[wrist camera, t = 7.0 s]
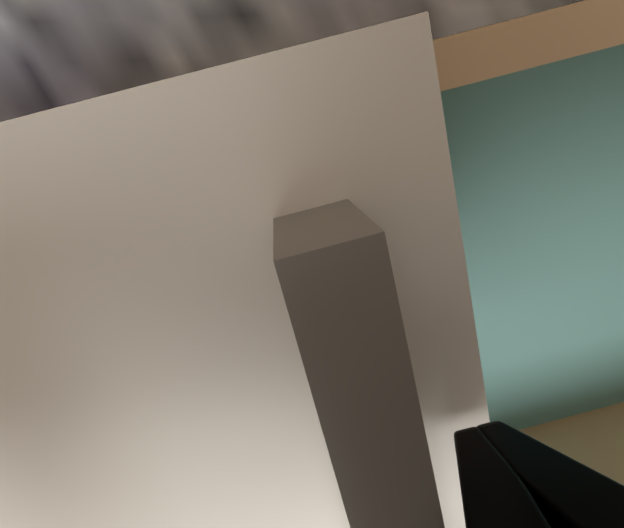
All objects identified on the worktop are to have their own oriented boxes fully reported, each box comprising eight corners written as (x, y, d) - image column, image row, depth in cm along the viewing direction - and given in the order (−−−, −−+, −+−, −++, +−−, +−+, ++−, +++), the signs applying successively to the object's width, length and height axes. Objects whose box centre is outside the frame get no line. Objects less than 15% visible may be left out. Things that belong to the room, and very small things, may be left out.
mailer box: (761, -25, 12) (1085, -131, 7) (740, 380, 16) (942, 487, 11) (118, 142, 12) (12, 149, 7) (253, 511, 16) (245, 677, 11)
